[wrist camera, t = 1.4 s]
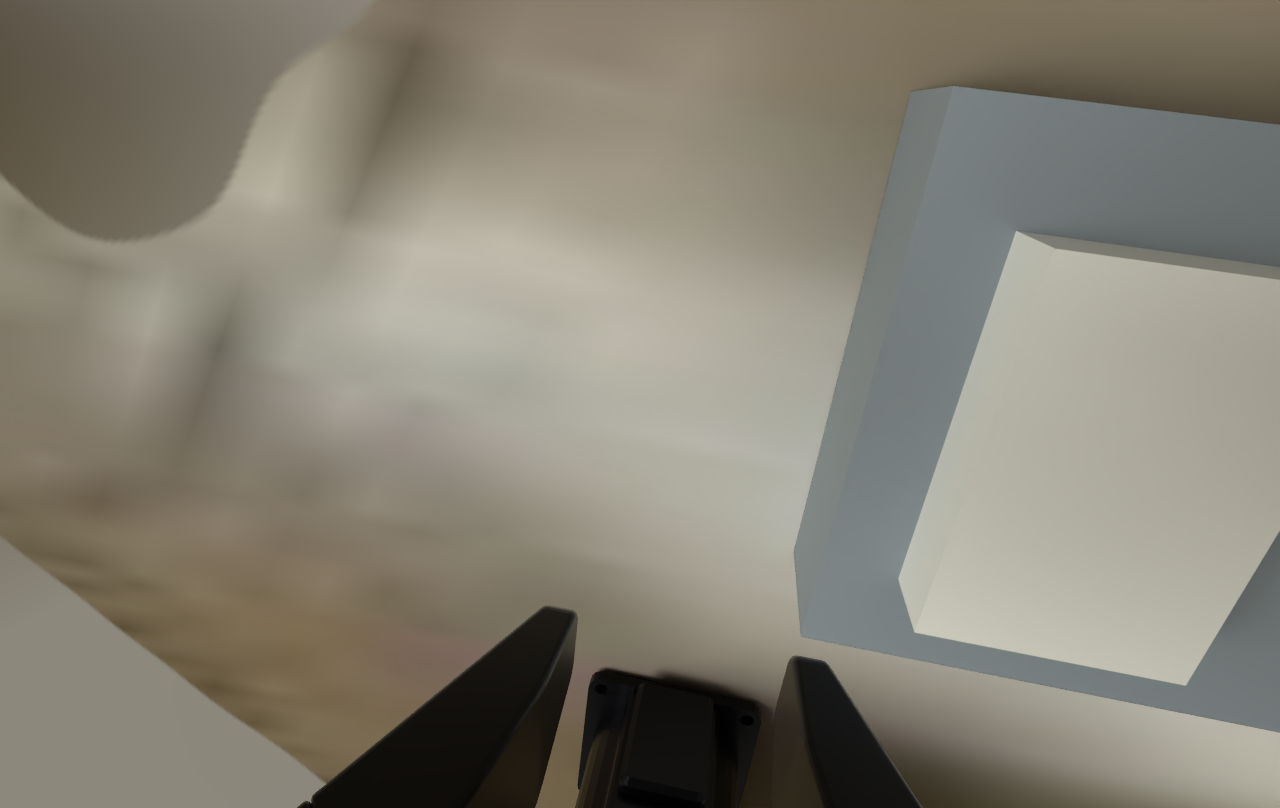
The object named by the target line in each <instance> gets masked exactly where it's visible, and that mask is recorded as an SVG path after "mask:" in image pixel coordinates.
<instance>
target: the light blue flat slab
mask: <svg viewBox="0 0 1280 808" xmlns="http://www.w3.org/2000/svg"><path fill="white" fill-rule="evenodd" d="M1016 231H1022V232H1029V233H1036V234H1043V235H1051V236H1058V237H1065V238H1072V239H1080V240H1087V241H1094V242H1101V243H1109V244H1116V245H1123V246H1130V247H1138V248H1145V249H1152V250H1159V251H1167V252H1174V253H1181V254H1188V255H1196V256H1203V257H1210V258H1218V259H1225V260H1232V261H1239V262H1247V263H1254V264H1261V265H1268V266H1276V267H1280V125H1278V124H1270V123H1261V122H1253V121H1244V120H1236V119H1228V118H1219V117H1211V116H1202V115H1194V114H1186V113H1177V112H1169V111H1160V110H1152V109H1143V108H1135V107H1127V106H1118V105H1110V104H1101V103H1093V102H1085V101H1076V100H1068V99H1059V98H1051V97H1042V96H1034V95H1026V94H1017V93H1009V92H1000V91H992V90H983V89H975V88H967V87H958V86H949V87H942V88H934V89H926V90H918V91H911V93H910V97H909V101H908V105H907V109H906V113H905V117H904V121H903V125H902V129H901V132H900V136H899V140H898V144H897V148H896V152H895V156H894V160H893V164H892V168H891V172H890V176H889V180H888V184H887V188H886V191H885V195H884V199H883V203H882V207H881V211H880V215H879V219H878V223H877V227H876V231H875V235H874V239H873V243H872V247H871V250H870V254H869V258H868V262H867V266H866V270H865V274H864V278H863V282H862V286H861V290H860V294H859V298H858V302H857V306H856V309H855V313H854V317H853V321H852V325H851V329H850V333H849V337H848V341H847V345H846V349H845V353H844V357H843V361H842V365H841V368H840V372H839V376H838V380H837V384H836V388H835V392H834V396H833V400H832V404H831V408H830V412H829V416H828V420H827V424H826V427H825V431H824V435H823V439H822V443H821V447H820V451H819V455H818V459H817V463H816V467H815V471H814V475H813V479H812V483H811V486H810V490H809V494H808V498H807V502H806V506H805V510H804V514H803V518H802V522H801V526H800V530H799V534H798V538H797V541H796V545H795V549H794V560H795V572H796V584H797V596H798V608H799V620H800V632H801V637H805V638H810V639H815V640H820V641H825V642H830V643H835V644H840V645H845V646H850V647H855V648H860V649H865V650H870V651H875V652H880V653H885V654H890V655H895V656H900V657H905V658H910V659H915V660H920V661H925V662H930V663H935V664H940V665H945V666H950V667H955V668H960V669H965V670H970V671H975V672H980V673H985V674H990V675H995V676H1000V677H1005V678H1010V679H1015V680H1020V681H1025V682H1030V683H1035V684H1040V685H1045V686H1050V687H1055V688H1060V689H1065V690H1070V691H1075V692H1080V693H1085V694H1090V695H1095V696H1100V697H1105V698H1110V699H1115V700H1120V701H1125V702H1130V703H1135V704H1140V705H1145V706H1150V707H1155V708H1160V709H1165V710H1170V711H1175V712H1180V713H1185V714H1190V715H1195V716H1200V717H1205V718H1210V719H1215V720H1220V721H1225V722H1230V723H1235V724H1240V725H1245V726H1250V727H1255V728H1260V729H1265V730H1270V731H1275V732H1280V531H1279V533H1278V534H1277V536H1276V538H1275V539H1274V541H1273V543H1272V544H1271V546H1270V548H1269V549H1268V551H1267V553H1266V554H1265V556H1264V558H1263V559H1262V561H1261V562H1260V564H1259V566H1258V567H1257V569H1256V571H1255V572H1254V574H1253V576H1252V577H1251V579H1250V581H1249V582H1248V584H1247V586H1246V587H1245V589H1244V591H1243V592H1242V594H1241V595H1240V597H1239V599H1238V600H1237V602H1236V604H1235V605H1234V607H1233V609H1232V610H1231V612H1230V614H1229V615H1228V617H1227V619H1226V620H1225V622H1224V623H1223V625H1222V627H1221V628H1220V630H1219V632H1218V633H1217V635H1216V637H1215V638H1214V640H1213V642H1212V643H1211V645H1210V647H1209V648H1208V650H1207V652H1206V653H1205V655H1204V656H1203V658H1202V660H1201V661H1200V663H1199V665H1198V666H1197V668H1196V670H1195V671H1194V673H1193V675H1192V676H1191V678H1190V680H1189V681H1188V683H1187V684H1186V686H1185V685H1179V684H1174V683H1169V682H1164V681H1159V680H1154V679H1149V678H1144V677H1139V676H1134V675H1128V674H1123V673H1118V672H1113V671H1108V670H1103V669H1098V668H1093V667H1088V666H1083V665H1077V664H1072V663H1067V662H1062V661H1057V660H1052V659H1047V658H1042V657H1037V656H1032V655H1026V654H1021V653H1016V652H1011V651H1006V650H1001V649H996V648H991V647H986V646H981V645H975V644H970V643H965V642H960V641H955V640H950V639H945V638H940V637H935V636H930V635H924V634H919V633H914V630H913V626H912V623H911V620H910V617H909V613H908V610H907V607H906V603H905V600H904V597H903V593H902V590H901V587H900V583H899V580H898V578H899V575H900V572H901V569H902V566H903V563H904V560H905V557H906V554H907V551H908V548H909V546H910V543H911V540H912V537H913V534H914V531H915V528H916V525H917V522H918V519H919V516H920V513H921V510H922V507H923V504H924V501H925V498H926V495H927V492H928V489H929V486H930V484H931V481H932V478H933V475H934V472H935V469H936V466H937V463H938V460H939V457H940V454H941V451H942V448H943V445H944V442H945V439H946V436H947V433H948V430H949V427H950V424H951V422H952V419H953V416H954V413H955V410H956V407H957V404H958V401H959V398H960V395H961V392H962V389H963V386H964V383H965V380H966V377H967V374H968V371H969V368H970V365H971V363H972V360H973V357H974V354H975V351H976V348H977V345H978V342H979V339H980V336H981V333H982V330H983V327H984V324H985V321H986V318H987V315H988V312H989V309H990V306H991V303H992V301H993V298H994V295H995V292H996V289H997V286H998V283H999V280H1000V277H1001V274H1002V271H1003V268H1004V265H1005V262H1006V259H1007V256H1008V253H1009V250H1010V247H1011V244H1012V241H1013V239H1014V236H1015V233H1016Z"/></svg>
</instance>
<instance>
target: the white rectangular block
mask: <svg viewBox="0 0 1280 808" xmlns="http://www.w3.org/2000/svg"><path fill="white" fill-rule="evenodd" d="M1279 531H1280V267H1276V266H1268V265H1261V264H1254V263H1247V262H1239V261H1232V260H1225V259H1218V258H1210V257H1203V256H1196V255H1188V254H1181V253H1174V252H1167V251H1159V250H1152V249H1145V248H1138V247H1130V246H1123V245H1116V244H1109V243H1101V242H1094V241H1087V240H1080V239H1072V238H1065V237H1058V236H1051V235H1043V234H1036V233H1029V232H1022V231H1016V233H1015V236H1014V239H1013V241H1012V244H1011V247H1010V250H1009V253H1008V256H1007V259H1006V262H1005V265H1004V268H1003V271H1002V274H1001V277H1000V280H999V283H998V286H997V289H996V292H995V295H994V298H993V301H992V303H991V306H990V309H989V312H988V315H987V318H986V321H985V324H984V327H983V330H982V333H981V336H980V339H979V342H978V345H977V348H976V351H975V354H974V357H973V360H972V363H971V365H970V368H969V371H968V374H967V377H966V380H965V383H964V386H963V389H962V392H961V395H960V398H959V401H958V404H957V407H956V410H955V413H954V416H953V419H952V422H951V424H950V427H949V430H948V433H947V436H946V439H945V442H944V445H943V448H942V451H941V454H940V457H939V460H938V463H937V466H936V469H935V472H934V475H933V478H932V481H931V484H930V486H929V489H928V492H927V495H926V498H925V501H924V504H923V507H922V510H921V513H920V516H919V519H918V522H917V525H916V528H915V531H914V534H913V537H912V540H911V543H910V546H909V548H908V551H907V554H906V557H905V560H904V563H903V566H902V569H901V572H900V575H899V578H898V580H899V583H900V587H901V590H902V593H903V597H904V600H905V603H906V607H907V610H908V613H909V617H910V620H911V623H912V626H913V630H914V633H919V634H924V635H930V636H935V637H940V638H945V639H950V640H955V641H960V642H965V643H970V644H975V645H981V646H986V647H991V648H996V649H1001V650H1006V651H1011V652H1016V653H1021V654H1026V655H1032V656H1037V657H1042V658H1047V659H1052V660H1057V661H1062V662H1067V663H1072V664H1077V665H1083V666H1088V667H1093V668H1098V669H1103V670H1108V671H1113V672H1118V673H1123V674H1128V675H1134V676H1139V677H1144V678H1149V679H1154V680H1159V681H1164V682H1169V683H1174V684H1179V685H1185V686H1186V684H1187V683H1188V681H1189V680H1190V678H1191V676H1192V675H1193V673H1194V671H1195V670H1196V668H1197V666H1198V665H1199V663H1200V661H1201V660H1202V658H1203V656H1204V655H1205V653H1206V652H1207V650H1208V648H1209V647H1210V645H1211V643H1212V642H1213V640H1214V638H1215V637H1216V635H1217V633H1218V632H1219V630H1220V628H1221V627H1222V625H1223V623H1224V622H1225V620H1226V619H1227V617H1228V615H1229V614H1230V612H1231V610H1232V609H1233V607H1234V605H1235V604H1236V602H1237V600H1238V599H1239V597H1240V595H1241V594H1242V592H1243V591H1244V589H1245V587H1246V586H1247V584H1248V582H1249V581H1250V579H1251V577H1252V576H1253V574H1254V572H1255V571H1256V569H1257V567H1258V566H1259V564H1260V562H1261V561H1262V559H1263V558H1264V556H1265V554H1266V553H1267V551H1268V549H1269V548H1270V546H1271V544H1272V543H1273V541H1274V539H1275V538H1276V536H1277V534H1278V533H1279Z"/></svg>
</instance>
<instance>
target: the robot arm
mask: <svg viewBox="0 0 1280 808" xmlns="http://www.w3.org/2000/svg"><path fill="white" fill-rule="evenodd" d="M577 621H578V617H577V614H576V612H575V611H573V610H569V609H565V608H560V607H555V606H544V607H542V608H541V609H539V610H538V611H537V612H536V613H535V614H533V615H532V616H531V617H530V618H528V619H527V620H526V621H525V622H524V623H522V624H521V625H520V626H519V627H518V628H516V629H515V630H514V631H513V632H511V633H510V634H509V635H508V636H507V637H505V638H504V639H503V640H502V641H500V642H499V643H498V644H497V645H496V646H494V647H493V648H492V649H491V650H489V651H488V652H487V653H486V654H485V655H483V656H482V657H481V658H480V659H478V660H477V661H476V662H475V663H474V664H472V665H471V666H470V667H469V668H467V669H466V670H465V671H464V672H463V673H461V674H460V675H459V676H458V677H456V678H455V679H454V680H453V681H452V682H450V683H449V684H448V685H447V686H445V687H444V688H443V689H442V690H441V691H439V692H438V693H437V694H436V695H434V696H433V697H432V698H431V699H430V700H428V701H427V702H426V703H425V704H423V705H422V706H421V707H420V708H419V709H417V710H416V711H415V712H414V713H413V714H411V715H410V716H409V717H408V718H406V719H405V720H404V721H403V722H402V723H400V724H399V725H398V726H397V727H395V728H394V729H393V730H392V731H391V732H389V733H388V734H387V735H386V736H384V737H383V738H382V739H381V740H380V741H378V742H377V743H376V744H375V745H373V746H372V747H371V748H370V749H369V750H367V751H366V752H365V753H364V754H362V755H361V756H360V757H359V758H358V759H356V760H355V761H354V762H353V763H351V764H350V765H349V766H348V767H347V768H345V769H344V770H343V771H342V772H340V773H339V774H338V775H337V776H336V777H334V778H333V779H332V780H331V781H329V782H328V783H327V784H326V785H325V786H323V787H322V788H321V789H320V790H319V791H317V792H316V793H315V794H314V795H313V796H312V799H311V803H310V802H308V801H305V802H303V803H302V804H301V805H300V806H298V807H297V808H535V806H536V804H537V800H538V797H539V794H540V790H541V787H542V784H543V780H544V776H545V772H546V769H547V765H548V761H549V757H550V754H551V750H552V746H553V743H554V739H555V735H556V731H557V728H558V724H559V720H560V716H561V713H562V709H563V705H564V701H565V698H566V694H567V690H568V686H569V683H570V679H571V674H572V669H573V663H574V653H575V642H576V632H577ZM599 684H602V685H605V686H601V685H599ZM745 715H748V716H750V717H745ZM760 724H761V711H760V709H759V707H758V706H757V705H755V704H753V703H751V702H746V701H742V700H737V699H732V698H727V697H723V696H718V695H713V694H709V693H704V692H699V691H694V690H690V689H685V688H680V687H675V686H671V685H666V684H661V683H656V682H652V681H647V680H642V679H637V678H633V677H628V676H623V675H618V674H614V673H609V672H602V671H600V672H596V673H595V674H593V675H592V678H591V681H590V684H589V689H588V698H587V706H586V715H585V724H584V733H583V742H582V751H581V760H580V769H579V777H578V789H579V790H580V791H579V795H578V799H577V802H576V806H575V808H739V804H740V800H741V796H742V792H743V789H744V785H745V781H746V777H747V773H748V770H749V766H750V762H751V758H752V754H753V751H754V747H755V743H756V739H757V735H758V732H759V728H760ZM770 808H923V807H922V806H921V804H920V803H919V801H918V800H917V798H916V797H915V795H914V794H913V792H912V791H911V789H910V788H909V786H908V785H907V783H906V782H905V780H904V779H903V777H902V775H901V774H900V772H899V771H898V769H897V768H896V766H895V765H894V763H893V762H892V760H891V759H890V757H889V756H888V754H887V753H886V751H885V750H884V748H883V747H882V745H881V744H880V742H879V741H878V739H877V738H876V736H875V734H874V733H873V731H872V730H871V728H870V727H869V725H868V724H867V722H866V721H865V719H864V718H863V716H862V715H861V713H860V712H859V710H858V709H857V707H856V706H855V704H854V703H853V701H852V700H851V698H850V697H849V695H848V693H847V692H846V690H845V689H844V687H843V686H842V684H841V683H840V681H839V680H838V678H837V677H836V675H835V674H834V672H833V671H832V669H831V668H830V666H829V665H828V664H827V663H826V662H824V661H821V660H817V659H812V658H807V657H802V656H793V657H791V659H790V660H789V662H788V665H787V669H786V672H785V676H784V680H783V683H782V687H781V691H780V694H779V698H778V702H777V706H776V711H775V719H774V737H773V759H772V782H771V805H770Z"/></svg>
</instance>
